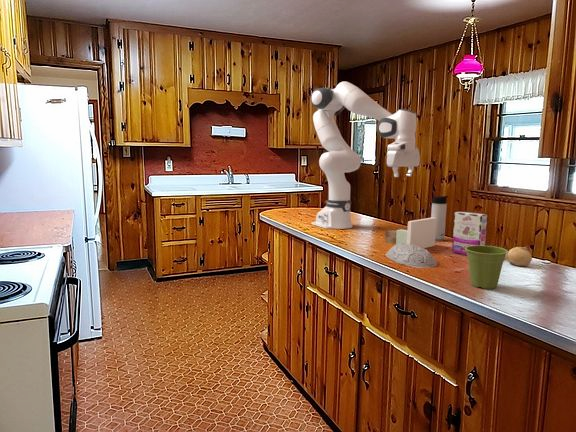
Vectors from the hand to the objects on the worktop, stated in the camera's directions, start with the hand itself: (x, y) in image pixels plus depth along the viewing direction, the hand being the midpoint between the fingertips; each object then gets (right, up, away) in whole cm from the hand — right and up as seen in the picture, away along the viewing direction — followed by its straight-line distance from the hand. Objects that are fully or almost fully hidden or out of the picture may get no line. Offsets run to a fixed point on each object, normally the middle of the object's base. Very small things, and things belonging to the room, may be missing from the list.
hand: (402, 176), depth 202 cm
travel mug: (+15, -29, -2) cm, 33 cm away
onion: (+30, -36, -44) cm, 64 cm away
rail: (-4, -30, -12) cm, 32 cm away
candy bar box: (+18, -33, -29) cm, 48 cm away
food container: (-7, -35, -37) cm, 51 cm away
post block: (0, -31, -16) cm, 35 cm away
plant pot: (+7, -39, -68) cm, 79 cm away
